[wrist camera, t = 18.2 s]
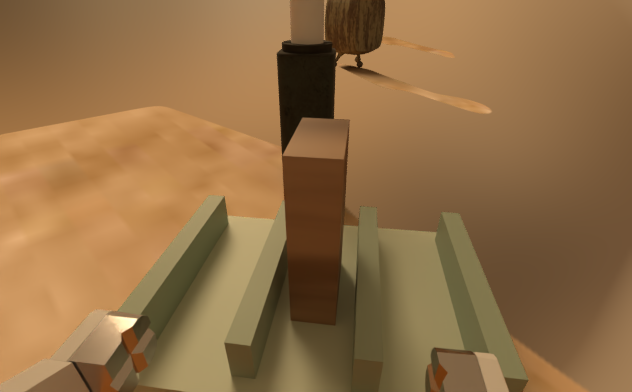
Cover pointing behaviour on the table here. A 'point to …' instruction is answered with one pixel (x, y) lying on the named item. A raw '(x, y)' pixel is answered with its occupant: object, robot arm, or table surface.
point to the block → (315, 216)
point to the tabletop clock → (354, 26)
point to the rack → (310, 338)
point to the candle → (305, 69)
